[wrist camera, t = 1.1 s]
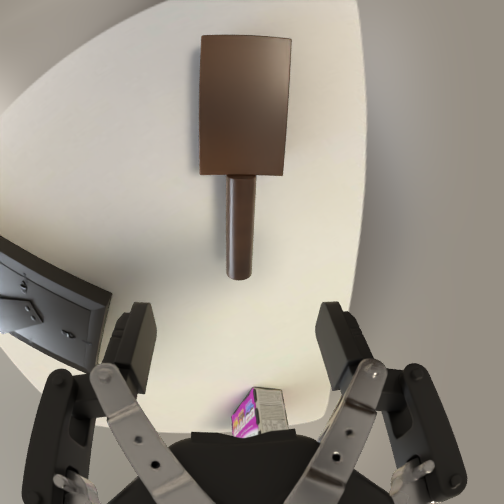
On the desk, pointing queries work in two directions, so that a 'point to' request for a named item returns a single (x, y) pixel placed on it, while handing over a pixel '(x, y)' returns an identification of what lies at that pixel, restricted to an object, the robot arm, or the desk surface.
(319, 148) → the desk surface
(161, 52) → the desk surface
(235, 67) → the brush
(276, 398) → the candy bar box
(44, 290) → the picture frame
